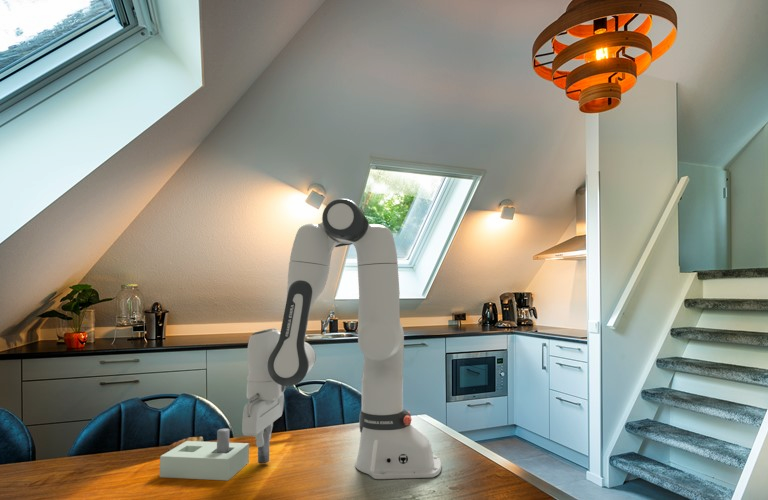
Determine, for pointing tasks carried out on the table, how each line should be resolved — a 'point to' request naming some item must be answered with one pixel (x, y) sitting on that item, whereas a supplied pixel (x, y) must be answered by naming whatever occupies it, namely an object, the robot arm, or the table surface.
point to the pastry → (184, 441)
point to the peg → (264, 448)
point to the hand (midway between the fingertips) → (263, 443)
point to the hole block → (205, 459)
